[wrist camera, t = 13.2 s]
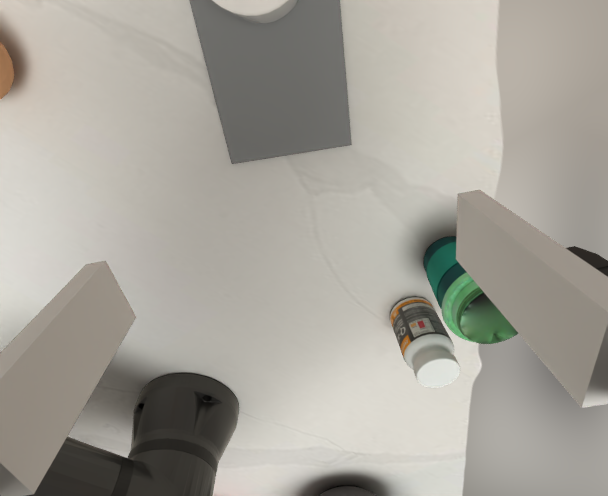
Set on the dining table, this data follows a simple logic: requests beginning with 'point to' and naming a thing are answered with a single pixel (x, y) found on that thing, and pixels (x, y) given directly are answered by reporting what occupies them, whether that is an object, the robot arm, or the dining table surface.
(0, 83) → the egg
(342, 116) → the track
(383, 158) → the dining table surface
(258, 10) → the pill bottle
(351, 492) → the planter
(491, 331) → the cup
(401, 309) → the pill bottle
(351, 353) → the dining table surface
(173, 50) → the dining table surface
